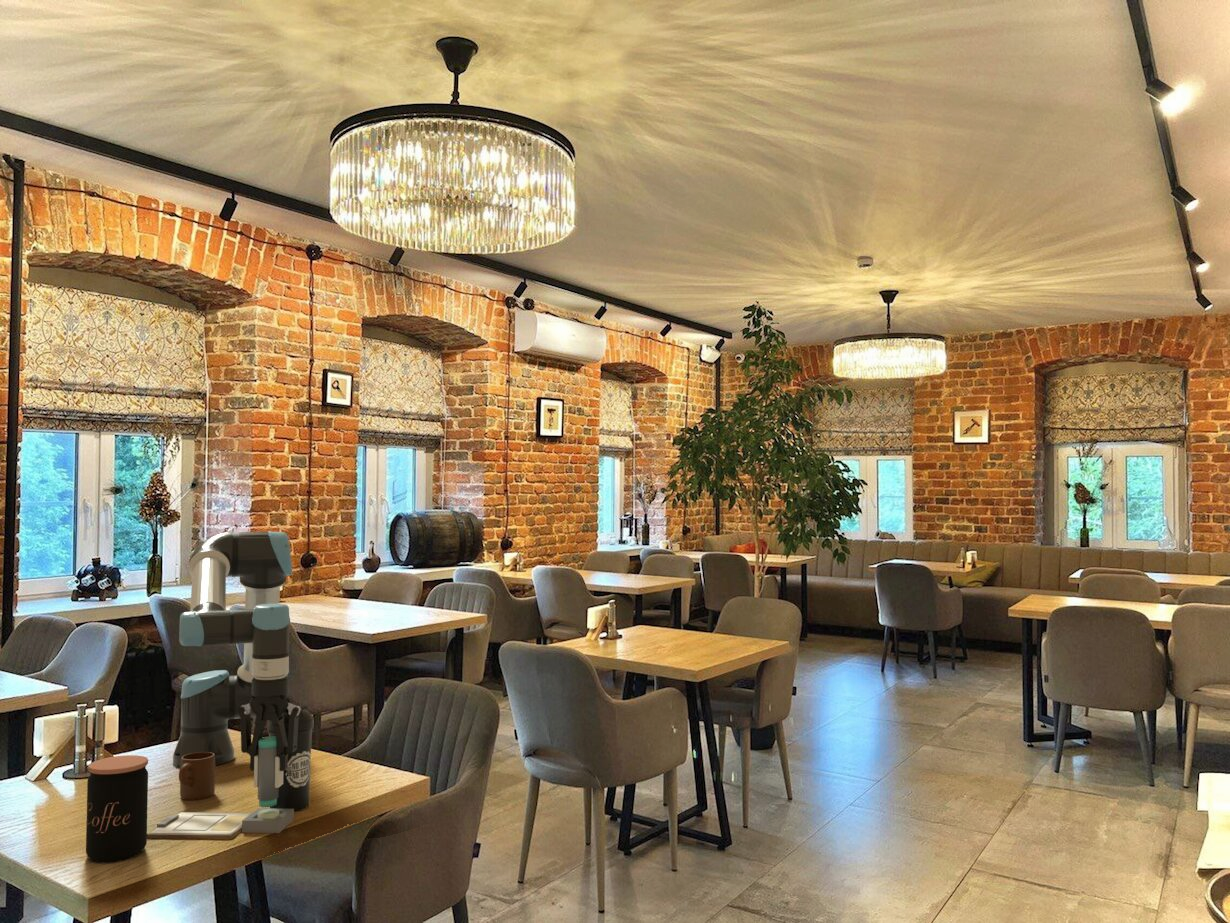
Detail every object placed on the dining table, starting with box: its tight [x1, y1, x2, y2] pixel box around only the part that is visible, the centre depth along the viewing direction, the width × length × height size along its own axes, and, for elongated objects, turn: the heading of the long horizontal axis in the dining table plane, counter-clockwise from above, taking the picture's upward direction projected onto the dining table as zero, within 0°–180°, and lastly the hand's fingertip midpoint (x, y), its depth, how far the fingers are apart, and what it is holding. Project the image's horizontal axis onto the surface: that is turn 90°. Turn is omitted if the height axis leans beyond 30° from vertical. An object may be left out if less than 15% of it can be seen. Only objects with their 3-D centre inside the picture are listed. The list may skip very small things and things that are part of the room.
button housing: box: [241, 807, 295, 834], centre depth 204 cm, size 8×8×2 cm
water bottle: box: [266, 702, 315, 813], centre depth 217 cm, size 10×10×23 cm
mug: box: [178, 752, 216, 801], centre depth 223 cm, size 12×8×9 cm, turn 178°
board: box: [147, 811, 252, 840], centre depth 203 cm, size 14×18×2 cm
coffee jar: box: [85, 754, 149, 864], centre depth 188 cm, size 11×11×18 cm
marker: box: [257, 735, 279, 808], centre depth 204 cm, size 4×4×14 cm
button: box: [257, 809, 279, 819], centre depth 204 cm, size 4×4×3 cm
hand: (268, 785), depth 204 cm, fingers closed on marker, 4 cm apart
